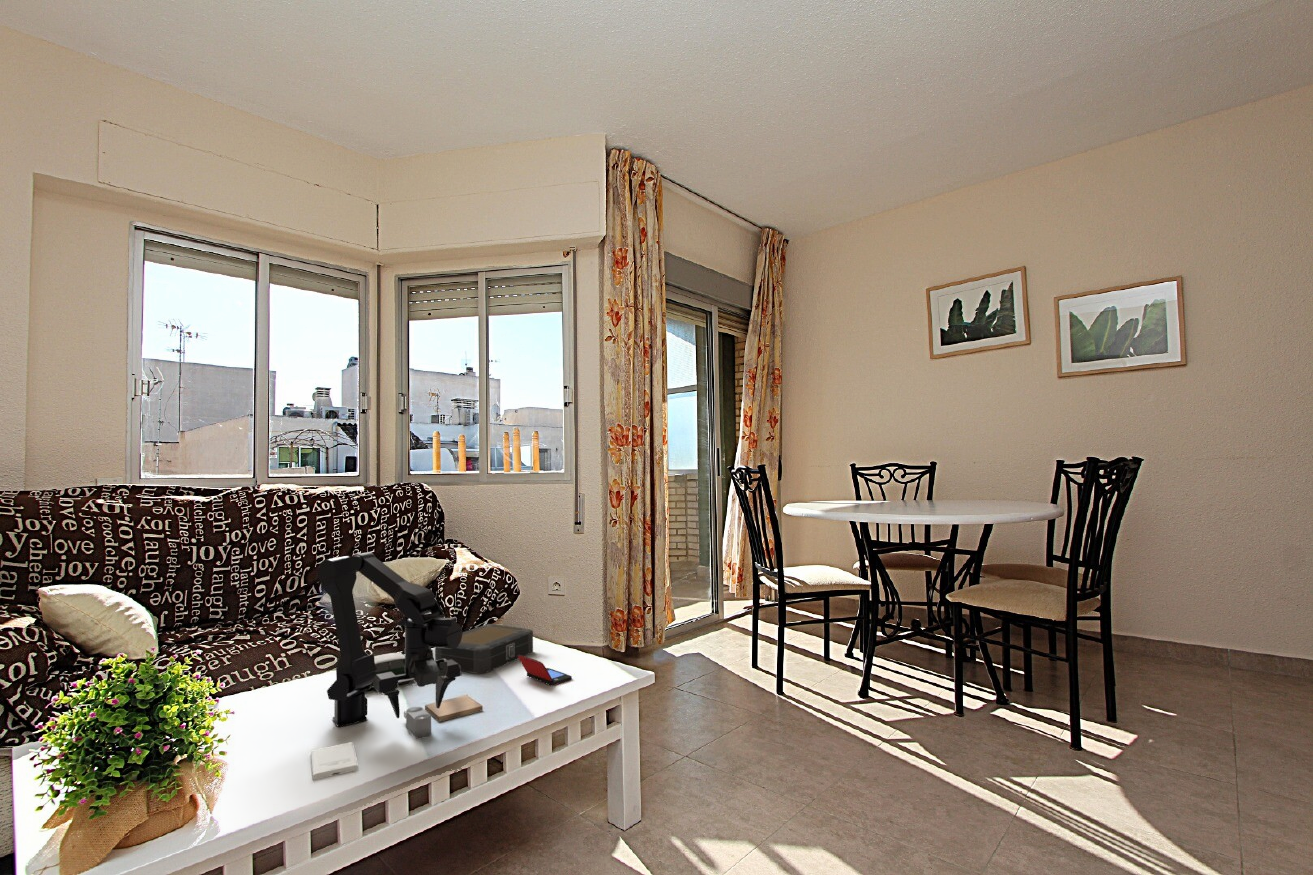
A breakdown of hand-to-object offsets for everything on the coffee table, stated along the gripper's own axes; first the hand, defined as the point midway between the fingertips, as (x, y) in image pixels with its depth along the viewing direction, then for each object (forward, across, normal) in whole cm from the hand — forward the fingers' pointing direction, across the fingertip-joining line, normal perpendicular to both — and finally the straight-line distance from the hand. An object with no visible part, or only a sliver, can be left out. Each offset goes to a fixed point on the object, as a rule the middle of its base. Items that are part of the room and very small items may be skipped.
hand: (418, 712), depth 153 cm
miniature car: (+5, +2, +39) cm, 39 cm away
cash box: (+5, +35, +42) cm, 55 cm away
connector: (+4, 0, +1) cm, 4 cm away
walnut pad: (+4, +11, +7) cm, 14 cm away
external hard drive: (+5, -19, -5) cm, 20 cm away
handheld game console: (+5, +40, +13) cm, 42 cm away
